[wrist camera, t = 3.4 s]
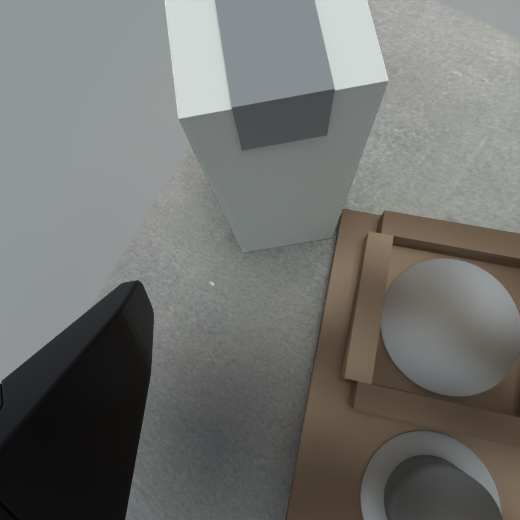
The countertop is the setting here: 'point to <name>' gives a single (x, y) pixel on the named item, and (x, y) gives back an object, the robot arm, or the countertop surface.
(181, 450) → the countertop surface
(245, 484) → the countertop surface
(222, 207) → the tall white box
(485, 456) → the wooden holder board
